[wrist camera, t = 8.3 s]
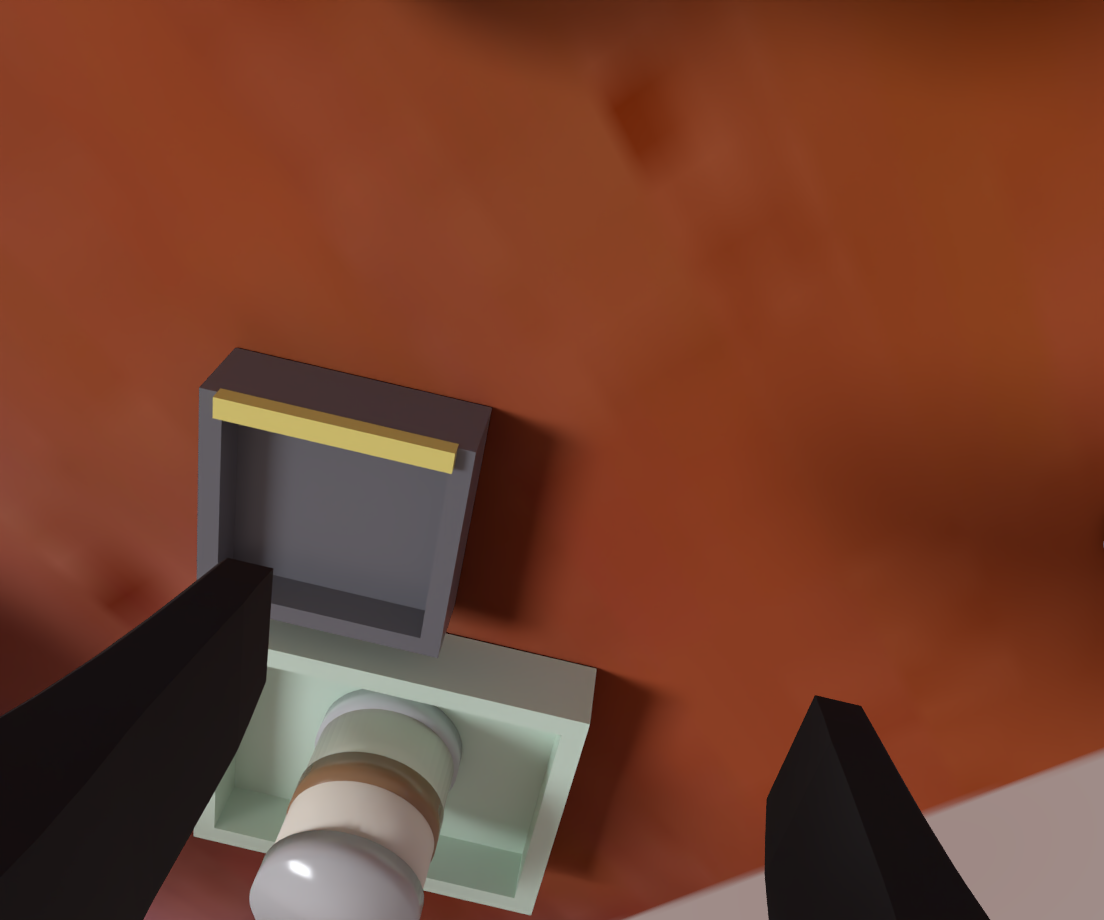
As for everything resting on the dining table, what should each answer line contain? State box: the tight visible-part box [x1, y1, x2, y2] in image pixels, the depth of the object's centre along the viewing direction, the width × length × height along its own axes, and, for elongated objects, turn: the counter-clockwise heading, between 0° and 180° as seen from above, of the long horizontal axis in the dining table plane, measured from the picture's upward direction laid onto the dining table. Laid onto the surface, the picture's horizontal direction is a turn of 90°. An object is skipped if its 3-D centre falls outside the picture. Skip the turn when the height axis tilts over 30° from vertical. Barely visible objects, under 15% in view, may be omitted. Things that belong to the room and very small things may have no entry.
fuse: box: [249, 689, 463, 920], centre depth 26 cm, size 4×4×6 cm
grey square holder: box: [197, 348, 492, 658], centre depth 24 cm, size 6×6×2 cm
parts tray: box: [194, 619, 597, 915], centre depth 28 cm, size 10×8×2 cm
